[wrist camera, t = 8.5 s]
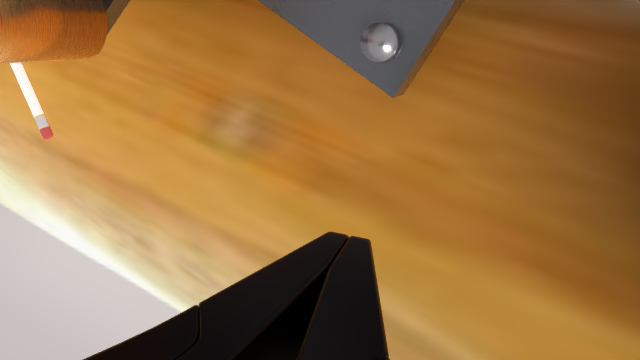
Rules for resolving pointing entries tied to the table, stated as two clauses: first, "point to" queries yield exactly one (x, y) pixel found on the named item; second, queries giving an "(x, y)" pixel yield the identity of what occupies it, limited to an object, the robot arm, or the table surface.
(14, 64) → the pencil
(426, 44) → the base plate
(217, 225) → the table surface
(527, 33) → the table surface
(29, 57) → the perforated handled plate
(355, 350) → the robot arm
